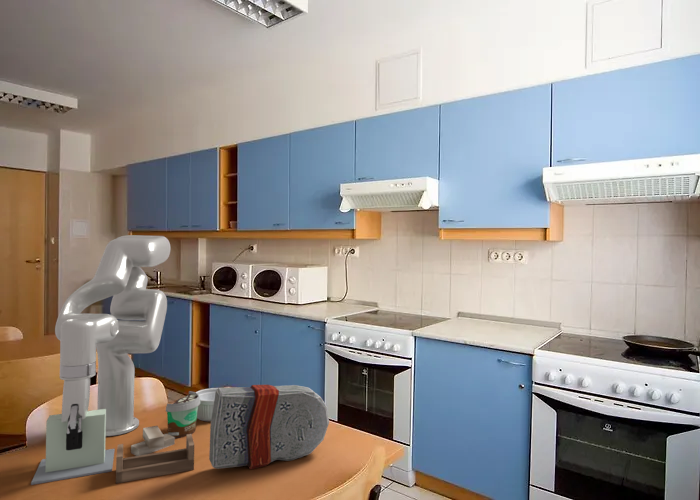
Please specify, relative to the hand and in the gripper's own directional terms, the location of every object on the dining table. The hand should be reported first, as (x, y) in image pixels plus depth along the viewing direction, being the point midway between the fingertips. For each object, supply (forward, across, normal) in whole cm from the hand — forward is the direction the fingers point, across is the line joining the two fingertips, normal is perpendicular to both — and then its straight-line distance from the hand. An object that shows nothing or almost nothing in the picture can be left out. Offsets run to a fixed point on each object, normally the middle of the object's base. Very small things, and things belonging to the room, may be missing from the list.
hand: (76, 441), depth 109 cm
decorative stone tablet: (+6, +15, +44) cm, 47 cm away
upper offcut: (+4, -3, +17) cm, 18 cm away
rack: (+6, +9, +18) cm, 21 cm away
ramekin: (+6, -22, +36) cm, 42 cm away
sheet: (+6, 0, 0) cm, 6 cm away
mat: (+6, 0, 0) cm, 6 cm away
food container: (+6, -11, +26) cm, 29 cm away
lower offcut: (+7, -4, +17) cm, 19 cm away
